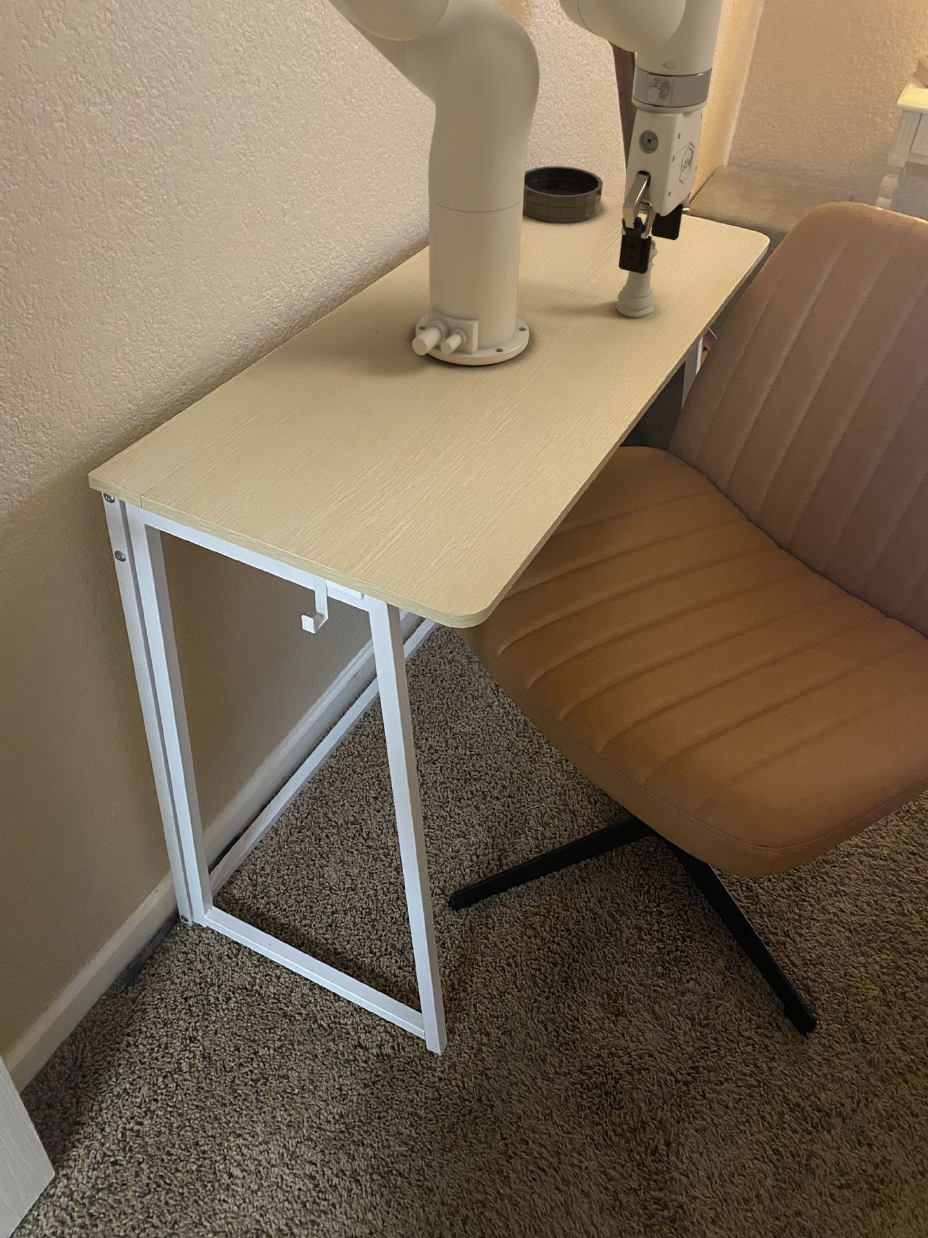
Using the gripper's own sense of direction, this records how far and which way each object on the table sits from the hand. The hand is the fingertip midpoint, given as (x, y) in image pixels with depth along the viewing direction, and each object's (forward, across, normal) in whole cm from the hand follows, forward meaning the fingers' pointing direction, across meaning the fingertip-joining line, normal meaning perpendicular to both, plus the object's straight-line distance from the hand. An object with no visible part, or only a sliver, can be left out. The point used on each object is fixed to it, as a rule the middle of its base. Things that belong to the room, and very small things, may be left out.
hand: (649, 253), depth 106 cm
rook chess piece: (+7, -1, +1) cm, 7 cm away
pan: (+7, +23, +22) cm, 32 cm away
